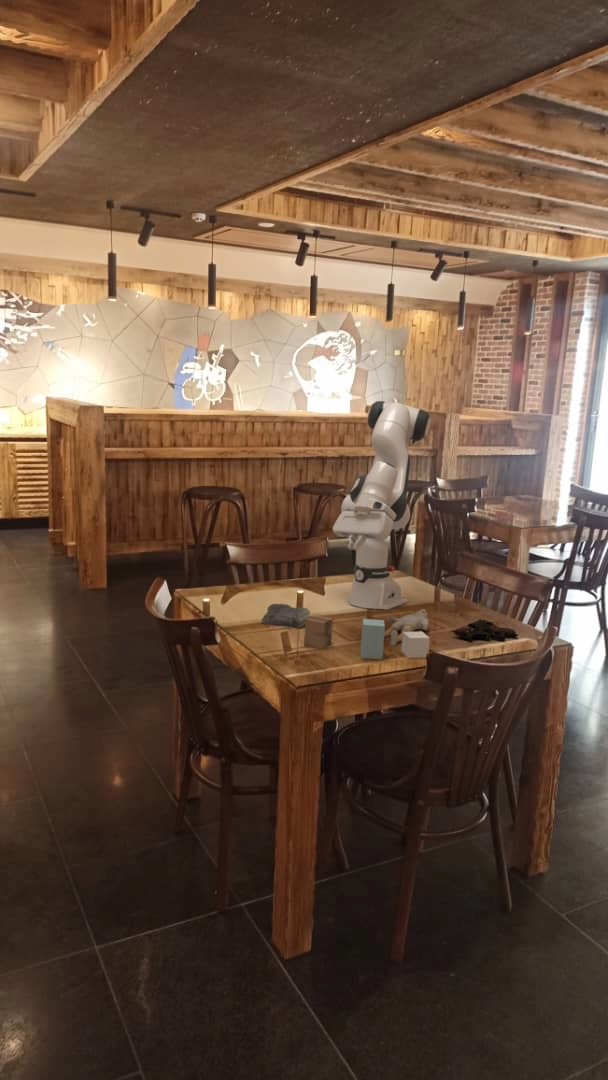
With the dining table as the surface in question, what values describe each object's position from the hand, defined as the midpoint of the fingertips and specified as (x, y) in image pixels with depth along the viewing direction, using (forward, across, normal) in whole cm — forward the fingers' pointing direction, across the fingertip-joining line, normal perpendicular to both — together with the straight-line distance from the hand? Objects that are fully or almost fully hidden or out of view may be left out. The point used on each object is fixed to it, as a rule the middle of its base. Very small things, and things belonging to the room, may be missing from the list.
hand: (352, 549), depth 232 cm
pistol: (+4, +20, +50) cm, 54 cm away
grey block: (+21, +17, +23) cm, 36 cm away
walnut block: (+29, -5, +7) cm, 30 cm away
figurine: (+12, +2, +34) cm, 36 cm away
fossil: (+21, -29, +14) cm, 38 cm away
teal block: (+27, +11, +12) cm, 32 cm away
